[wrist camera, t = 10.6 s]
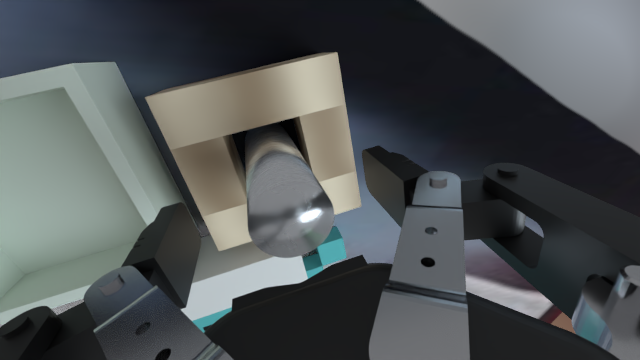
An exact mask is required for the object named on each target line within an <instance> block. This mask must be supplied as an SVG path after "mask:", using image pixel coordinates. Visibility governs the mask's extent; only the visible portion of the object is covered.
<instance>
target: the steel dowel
mask: <svg viewBox="0 0 640 360" xmlns="http://www.w3.org/2000/svg"><path fill="white" fill-rule="evenodd" d="M245 162H246V191H247V220H248V231H249V235H250V237H251V239H252V241H253V243H254V244H255V245H256V246H257V247H258V248H259V249H260V250H262V251H263V252H265V253H267V254H269V255H272V256H275V257H280V258H292V257H297V256H301V255H304V254H307V253H309V252H311V251H312V250H314V249H316V248H317V247H318V246H319V245H321V244H322V243H323V242H324V240H325V239H326V238H327V237H328V235H329V233H330V231H331V229H332V227H333V223H334V208H333V205H332V202H331V200H330V199H329V197H328V196H327V194H326V192H325V191H324V189H323V188H322V186H321V185H320V183H319V181H318V180H317V178H316V177H315V175H314V174H313V172H312V171H311V169H310V167H309V166H308V164H307V163H306V161H305V160H304V158H303V156H302V155H301V153H300V152H299V150H298V149H297V147H296V146H295V144H294V142H293V141H292V139H291V138H290V136H289V135H288V133H287V131H286V130H285V129H284V128H283V127H282V126H281V125H280V124H278V123H276V122H275V123H272V124H268V125H264V126H260V127H256V128H253V129H249V130H248V132H247V134H246V137H245Z"/></svg>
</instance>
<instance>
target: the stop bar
mask: <svg viewBox="0 0 640 360" xmlns="http://www.w3.org/2000/svg"><path fill="white" fill-rule="evenodd" d="M307 279H308V277H307V273H306V270H305V266H304V263H303V259H302V256H297V257H292V258H280V257H275V256H272V255H269V254H267V253H265V252H263V251H262V250H260V249H259V248H258V247H257V246H256V245H255V244H254V243H253V241H251V242H248V243H245V244H241V245H238V246H235V247H232V248H229V249H226V250H222V251H219V250H218V248H217V246H216V244H215V242H214V240H213V238H212V236H211V235H208V236H205V237H202V238H201V248H200V252H199V256H198V260H197V264H196V268H195V273H194V277H193V281H192V285H191V289H190V294H189V298H188V302H187V306H186V308H183V309H180V310H181V311H182V312H183V313H184V314H185V315H186V316H187V317H188V318H189V319H190V320H191V321H193V320H196V319H199V318H202V317H205V316H208V315H211V314H214V313H217V312H219V311H222V310H225V309H228V308H231V307H232V299H233V298H236V297H239V296H242V295H245V294H248V293H251V292H254V291H257V290H260V289H263V288H266V287H273V286H281V285H289V284H296V283H301V282H303V281H305V280H307Z"/></svg>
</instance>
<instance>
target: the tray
mask: <svg viewBox="0 0 640 360" xmlns="http://www.w3.org/2000/svg"><path fill="white" fill-rule="evenodd" d="M179 202H182V203H183V204H184V205H185V206H186V208H187V210H188V212H189V214H190V216H191V218H192V220H193V222H194V224H195V226H196V228H198V227H197V225H196V223H195V221H194V219H193V217H192V215H191V213H190V211H189V209H188V207H187V205H186V203H185V201H184V199H183V197H182V195H181V193H180V191H179V189H178V187H177V185H176V183H175V181H174V179H173V177H172V175H171V173H170V171H169V169H168V167H167V165H166V163H165V161H164V159H163V157H162V155H161V153H160V151H159V149H158V147H157V145H156V143H155V141H154V139H153V137H152V135H151V133H150V131H149V129H148V127H147V125H146V123H145V121H144V119H143V117H142V115H141V113H140V111H139V109H138V107H137V105H136V103H135V101H134V99H133V97H132V95H131V93H130V91H129V89H128V87H127V85H126V83H125V81H124V79H123V77H122V75H121V73H120V71H119V69H118V67H117V65H116V63H115V62H95V63H71V64H66V65H62V66H57V67H52V68H47V69H43V70H38V71H33V72H28V73H24V74H19V75H14V76H10V77H5V78H0V325H2V324H5V323H7V322H8V321H10V320H11V319H13V318H15V317H16V316H18V315H20V314H22V313H23V312H26V311H28V310H30V309H33V308H35V307H39V306H48V307H49V308H50V309H52V308H55V307H58V306H62V305H65V304H68V303H71V302H74V301H77V300H80V299H84V295H85V293H86V291H87V290H88V288H89V287H90V286H91V285H92V284H93V283H94V282H95V281H97V280H98V279H99V278H100V277H102V276H103V275H105V274H107V273H109V272H110V271H112V270H115V269H117V268H120V267H121V266H122V264H123V263H124V261H125V259H126V258H127V256H128V254H129V252H130V251H131V249H133V246H134V244H135V242H136V241H137V239H138V237H139V236H140V234H141V232H142V231H143V230H144V229H145V228H146V227H147V226H148V225H149V224H150V223H152V222H154V220H155V218H156V217H157V215H158V213H159V211H160V209H161V208H162V207H165V206H169V205H172V204H176V203H179Z"/></svg>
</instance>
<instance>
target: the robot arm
mask: <svg viewBox="0 0 640 360" xmlns="http://www.w3.org/2000/svg"><path fill="white" fill-rule="evenodd" d="M362 158H363V165H364V172H365V180H366V184H367V187H368V190H369V192H370V193H371V195H372V196H373V197H374V198H375V199H376V200H377V201H378V202H379V203H380V205H381V206H382V207H383V208H384V209H385V210H386V211H387V212H388V214H389V215H390V216H391V217H392V218H393V219H394V220H395V221H396V223H397V224H398V225H399V226H400V227H401V228H402V229H401V233H400V237H399V241H398V245H397V249H396V253H395V257H394V262H393V264H387V263H369V264H367V262H366V260H365V259H364V257H363V255H360V256H357V257H354V258H351V259H348V260H345V261H342V262H339V263H336V264H334V265H331V266H329V267H328V268H326V269H324V270H322V271H321V272H319V273H317V274H315V275H314V276H312V277H310V278H309V279H307V280H305V281H303V282H301V283H296V284H289V285H281V286H273V287H266V288H263V289H260V290H257V291H254V292H251V293H248V294H245V295H242V296H239V297H236V298H233V299H232V311H230V312H228V313H227V314H225V315H224V316H222V317H221V318H220V319H218V320H217V321H216V322H215V323H213V324H212V325H211V326H210V327H209V328H208V329H207V330H206V331H205V332H204V333H203V332H202V331H201V330H200V329H199V328H198V327H197V326H196V325H195V324H194V323H193V322H192V321H191V320H190V319H189V318H188V317H187V316H186V315H185V314H184V313H183V312H182V311H181V310H180V309H183V308H186V306H187V302H188V298H189V294H190V289H191V285H192V281H193V277H194V273H195V268H196V264H197V260H198V256H199V252H200V248H201V238H200V234H199V232H198V230H197V228H196V226H195V224H194V222H193V220H192V218H191V216H190V214H189V212H188V210H187V208H186V206H185V205H184V204H183V203H182V202H179V203H176V204H172V205H169V206H165V207H162V208H161V209H160V211H159V213H158V215H157V217H156V218H155V220H154V222H152V223H150V224H149V225H148V226H147V227H146V228H145V229H144V230H143V231H142V232H141V234H140V236H139V237H138V239H137V241H136V242H135V244H134V246H133V249H131V251H130V252H129V254H128V256H127V258H126V259H125V261H124V263H123V264H122V266H121V267H120V268H117V269H115V270H112V271H110V272H109V273H107V274H105V275H103V276H102V277H100V278H99V279H98V280H97V281H95V282H94V283H93V284H92V285H91V286H90V287H89V288H88V290H87V291H86V293H85V295H84V302H83V303H81V304H79V305H77V306H75V307H73V308H71V309H69V310H67V311H65V312H63V313H61V314H59V315H56V314H55V313H54V312H53V311H52V310H51V309H50V308H49V307H48V306H39V307H35V308H33V309H30V310H28V311H26V312H23V313H22V314H20V315H18V316H16V317H15V318H13V319H11V320H10V321H8V322H7V323H6V324H4V325H3V326H2V327H0V360H640V218H639V217H637V216H635V215H633V214H630V213H628V212H626V211H624V210H621V209H619V208H617V207H615V206H613V205H610V204H608V203H606V202H604V201H601V200H599V199H597V198H595V197H592V196H590V195H588V194H586V193H583V192H581V191H579V190H577V189H574V188H572V187H570V186H568V185H565V184H563V183H561V182H559V181H557V180H554V179H552V178H550V177H548V176H545V175H543V174H541V173H539V172H536V171H534V170H532V169H530V168H527V167H525V166H522V165H518V164H512V163H498V164H492V165H489V166H487V167H486V168H485V169H484V171H483V179H480V180H471V181H460V178H459V177H458V176H457V175H455V174H453V173H450V172H444V171H434V172H428V171H427V170H425V169H424V168H422V167H421V166H419V165H417V164H415V163H414V162H413V161H411V160H409V159H408V158H407V157H405V156H404V155H401V154H397V153H393V152H392V153H389V152H388V151H386V150H385V149H383V148H382V147H380V146H375V147H372V148H368V149H365V150H363V151H362ZM526 216H528V217H529V218H531V219H533V220H534V221H536V222H537V223H538V224H539V225H540V227H541V228H542V230H543V233H544V238H543V237H541V236H540V235H538V234H537V233H535V232H534V231H532V230H531V229H529V228H528V227H526V226H525V220H526ZM474 239H481V240H482V241H483V242H484V243H485V244H486V245H487V246H488V247H489V248H491V249H492V250H493V251H494V252H495V253H496V254H497V255H499V256H500V257H501V258H502V259H503V260H504V261H505V262H506V263H508V264H509V265H510V266H511V267H512V268H513V269H514V270H516V271H517V272H518V273H519V274H520V275H521V276H522V277H524V278H525V279H526V280H527V281H528V282H529V283H530V284H532V285H533V286H534V287H535V288H536V289H537V290H538V291H539V292H541V293H542V294H543V295H544V296H545V297H546V298H547V299H549V300H550V301H551V302H552V303H553V304H554V305H555V306H557V307H558V308H559V309H560V310H561V311H562V312H563V313H565V314H566V315H567V316H568V317H569V318H570V319H571V320H572V326H573V329H574V331H575V333H576V334H574V333H572V332H569V331H567V330H564V329H562V328H559V327H557V326H554V325H551V324H549V323H546V322H544V321H541V320H539V319H536V318H533V317H531V316H528V315H526V314H523V313H521V312H518V311H515V310H513V309H510V308H508V307H505V306H503V305H500V304H497V303H495V302H492V301H490V300H487V299H484V298H482V297H479V296H477V295H474V294H472V293H469V292H466V281H465V254H464V240H474Z"/></svg>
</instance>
